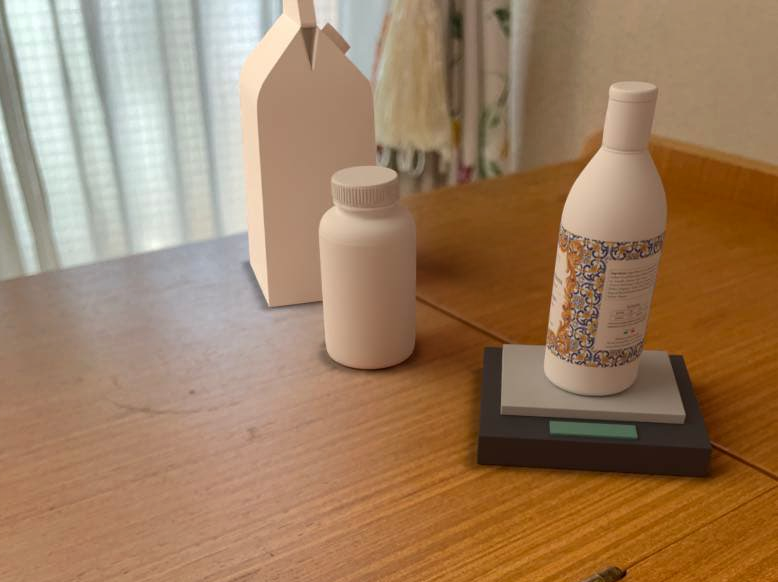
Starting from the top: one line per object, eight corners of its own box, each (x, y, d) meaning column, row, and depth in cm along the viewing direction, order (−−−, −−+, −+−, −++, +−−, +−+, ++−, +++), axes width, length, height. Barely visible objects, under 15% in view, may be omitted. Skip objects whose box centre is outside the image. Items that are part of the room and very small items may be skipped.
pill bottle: (307, 357, 76) (294, 180, 67) (358, 324, 81) (354, 154, 72) (382, 380, 73) (380, 196, 63) (431, 344, 78) (436, 168, 68)
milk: (250, 263, 94) (219, -23, 77) (353, 251, 96) (344, -29, 80) (269, 307, 85) (239, -6, 68) (383, 293, 87) (380, -14, 71)
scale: (676, 381, 72) (685, 345, 70) (705, 477, 61) (715, 438, 59) (482, 372, 74) (485, 337, 72) (476, 463, 63) (479, 425, 61)
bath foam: (539, 354, 69) (572, 73, 57) (628, 356, 69) (681, 74, 56) (545, 397, 64) (582, 98, 51) (642, 400, 63) (703, 99, 51)
